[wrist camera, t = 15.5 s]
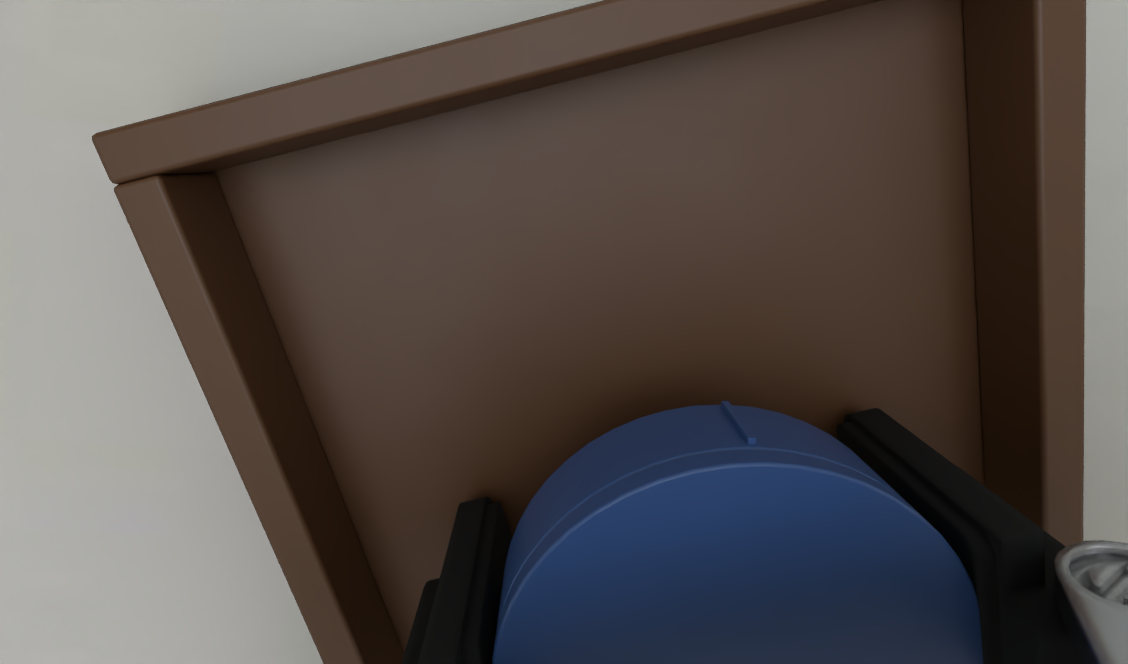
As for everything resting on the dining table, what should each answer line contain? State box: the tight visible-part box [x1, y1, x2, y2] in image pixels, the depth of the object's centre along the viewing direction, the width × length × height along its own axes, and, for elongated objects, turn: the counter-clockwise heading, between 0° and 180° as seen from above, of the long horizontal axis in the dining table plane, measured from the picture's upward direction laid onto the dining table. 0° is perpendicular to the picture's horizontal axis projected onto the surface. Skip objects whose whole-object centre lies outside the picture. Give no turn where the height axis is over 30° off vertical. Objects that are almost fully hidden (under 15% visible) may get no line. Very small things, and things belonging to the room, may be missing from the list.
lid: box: [492, 401, 983, 664], centre depth 9 cm, size 6×6×2 cm
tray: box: [92, 0, 1086, 664], centre depth 11 cm, size 17×13×2 cm
